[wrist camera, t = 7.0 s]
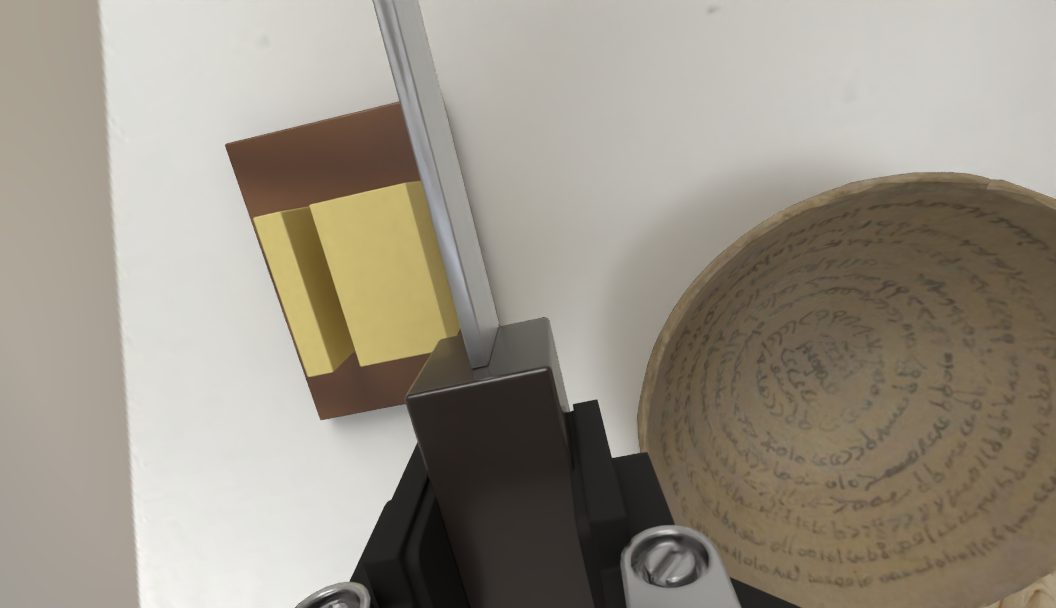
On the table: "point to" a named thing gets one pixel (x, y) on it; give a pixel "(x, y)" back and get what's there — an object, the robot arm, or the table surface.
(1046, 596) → the figurine
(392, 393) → the board
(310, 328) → the butter slice
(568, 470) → the knife
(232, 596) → the table surface
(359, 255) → the butter block
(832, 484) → the bowl
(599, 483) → the robot arm
